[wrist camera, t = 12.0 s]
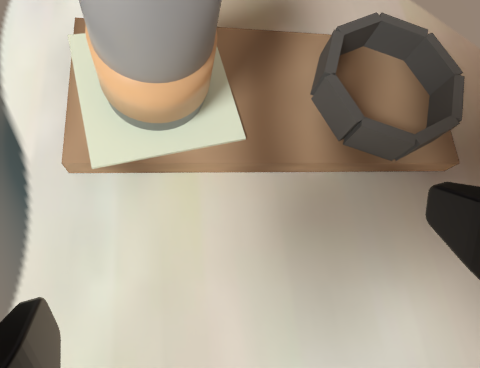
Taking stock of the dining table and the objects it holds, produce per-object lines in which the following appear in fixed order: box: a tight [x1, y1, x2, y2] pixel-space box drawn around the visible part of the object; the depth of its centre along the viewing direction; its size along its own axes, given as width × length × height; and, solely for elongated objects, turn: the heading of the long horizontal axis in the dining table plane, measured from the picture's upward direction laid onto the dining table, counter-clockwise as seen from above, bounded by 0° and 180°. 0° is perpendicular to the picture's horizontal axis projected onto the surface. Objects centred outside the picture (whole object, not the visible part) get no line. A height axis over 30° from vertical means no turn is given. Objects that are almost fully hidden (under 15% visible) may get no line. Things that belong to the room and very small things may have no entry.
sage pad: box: [68, 33, 246, 169], centre depth 23 cm, size 9×9×1 cm
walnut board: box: [62, 18, 459, 173], centre depth 25 cm, size 25×10×2 cm, turn 94°
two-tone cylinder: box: [79, 0, 221, 131], centre depth 17 cm, size 6×6×11 cm
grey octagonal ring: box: [310, 13, 464, 161], centre depth 24 cm, size 10×10×2 cm
